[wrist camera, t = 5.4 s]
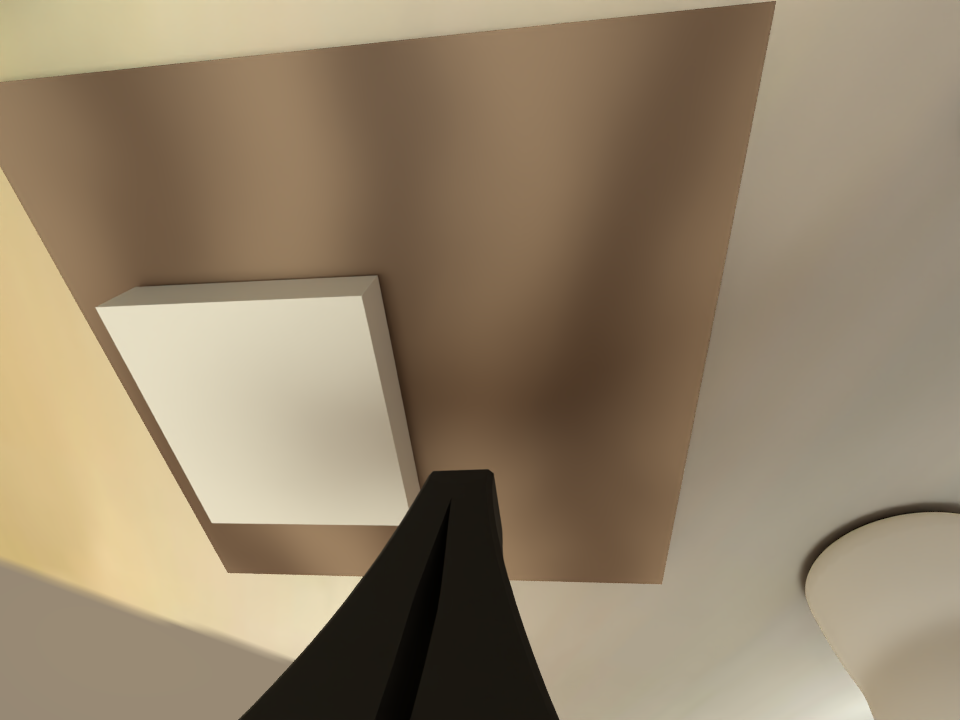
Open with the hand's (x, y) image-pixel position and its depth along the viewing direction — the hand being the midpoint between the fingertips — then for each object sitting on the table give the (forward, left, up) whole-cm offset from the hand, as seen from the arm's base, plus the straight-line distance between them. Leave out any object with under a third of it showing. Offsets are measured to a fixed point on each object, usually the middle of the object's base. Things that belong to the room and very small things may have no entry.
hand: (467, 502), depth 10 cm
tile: (+2, 0, -3) cm, 4 cm away
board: (+3, 0, -5) cm, 6 cm away
